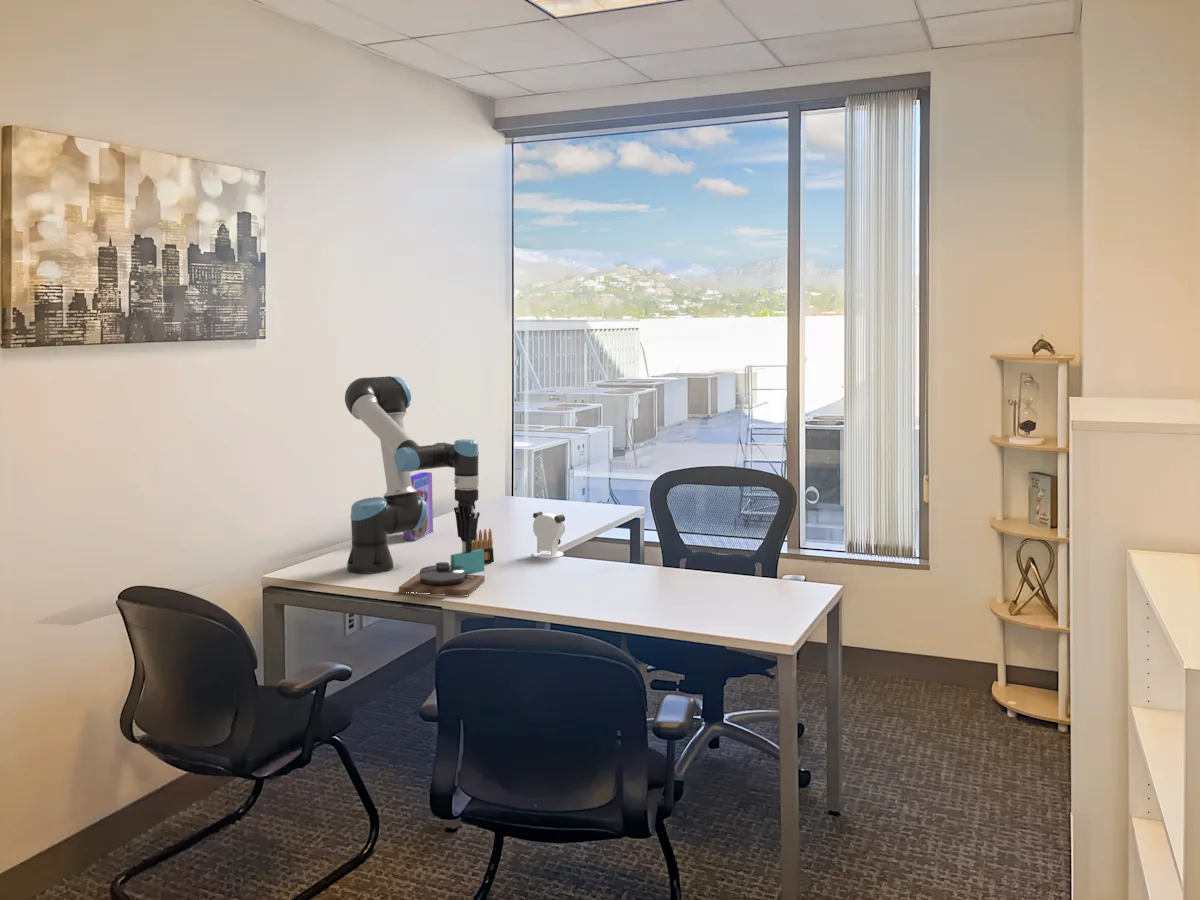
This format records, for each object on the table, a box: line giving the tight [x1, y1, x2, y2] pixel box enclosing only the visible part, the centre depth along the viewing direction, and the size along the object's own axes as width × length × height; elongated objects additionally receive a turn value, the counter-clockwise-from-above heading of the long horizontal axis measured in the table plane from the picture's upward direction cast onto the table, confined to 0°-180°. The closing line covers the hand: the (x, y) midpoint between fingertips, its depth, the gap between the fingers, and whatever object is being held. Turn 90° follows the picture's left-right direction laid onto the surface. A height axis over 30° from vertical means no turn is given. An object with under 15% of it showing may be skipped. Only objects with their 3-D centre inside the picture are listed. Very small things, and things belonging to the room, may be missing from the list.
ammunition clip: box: [472, 528, 495, 564], centre depth 345 cm, size 11×2×12 cm, turn 118°
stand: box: [398, 572, 486, 596], centre depth 314 cm, size 22×18×2 cm
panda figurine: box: [532, 511, 566, 559], centre depth 358 cm, size 12×11×15 cm
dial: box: [419, 549, 485, 585], centre depth 316 cm, size 23×14×7 cm, turn 136°
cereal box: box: [402, 471, 434, 542], centre depth 390 cm, size 17×5×24 cm, turn 167°
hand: (466, 560), depth 322 cm, fingers closed
